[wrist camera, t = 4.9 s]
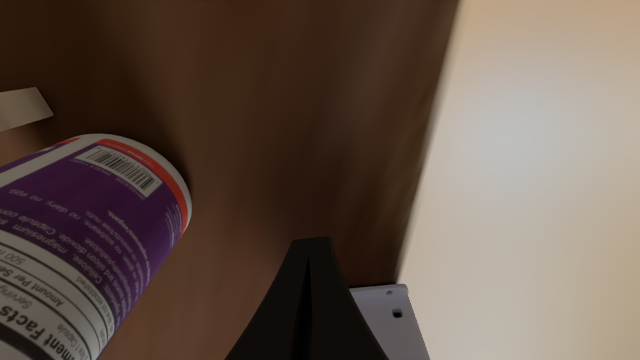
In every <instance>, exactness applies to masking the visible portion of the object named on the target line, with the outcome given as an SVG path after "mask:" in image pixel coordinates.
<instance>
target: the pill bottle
mask: <svg viewBox="0 0 640 360" xmlns="http://www.w3.org/2000/svg"><path fill="white" fill-rule="evenodd" d="M191 212H192V204H191V197H190V194H189V191H188V188H187V186H186V184H185V182H184V180H183V178H182V177H181V175H180V174H179V172H178V171H177V170H176V169H175V168H174V166H173V165H172V164H171V163H170V162H169V161H168V160H166V159H165V158H164V157H163V156H161V155H160V154H159V153H157V152H156V151H154V150H153V149H151V148H150V147H148V146H146V145H144V144H142V143H139V142H137V141H134V140H132V139H128V138H125V137H121V136H116V135H111V134H86V135H80V136H76V137H73V138H70V139H67V140H64V141H62V142H59V143H56V144H54V145H52V146H49V147H47V148H45V149H42V150H40V151H37V152H35V153H33V154H30V155H28V156H26V157H23V158H21V159H18V160H16V161H13V162H11V163H9V164H6V165H4V166H2V167H0V360H98V359H99V357H100V356H101V354H102V353H103V351H104V350H105V348H106V347H107V345H108V344H109V342H110V341H111V339H112V338H113V336H114V335H115V333H116V332H117V330H118V329H119V327H120V326H121V325H122V323H123V322H124V320H125V319H126V317H127V316H128V314H129V313H130V311H131V310H132V308H133V307H134V305H135V304H136V302H137V301H138V299H139V298H140V296H141V295H142V293H143V292H144V290H145V289H146V288H147V286H148V285H149V283H150V282H151V280H152V279H153V277H154V276H155V274H156V273H157V271H158V270H159V268H160V267H161V265H162V264H163V262H164V261H165V259H166V258H167V256H168V255H169V253H170V252H171V251H172V249H173V248H174V246H175V245H176V243H177V242H178V240H179V239H180V237H181V236H182V234H183V233H184V231H185V229H186V228H187V226H188V223H189V221H190V217H191Z"/></svg>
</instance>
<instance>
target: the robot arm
mask: <svg viewBox="0 0 640 360" xmlns="http://www.w3.org/2000/svg"><path fill="white" fill-rule="evenodd" d="M224 360H430V358H429V355H428V352H427V349H426V346H425V343H424V340H423V337H422V335H421V332H420V329H419V326H418V323H417V320H416V317H415V314H414V312H413V309H412V306H411V303H410V300H409V297H408V288H407V286H406V285H405V284H394V285H383V286H372V287H362V288H351V289H349V288H348V286H347V283H346V281H345V279H344V277H343V275H342V272H341V270H340V267H339V264H338V262H337V259H336V256H335V253H334V249H333V243H332V238H330V237H329V236H327V237H317V238H308V239H298V240H293V241H292V242H291V245H290V247H289V250H288V252H287V254H286V256H285V259H284V261H283V263H282V265H281V267H280V269H279V271H278V273H277V275H276V277H275V279H274V281H273V283H272V284H271V286H270V288H269V290H268V292H267V294H266V296H265V297H264V299H263V301H262V302H261V304H260V306H259V307H258V309H257V311H256V312H255V314H254V316H253V317H252V319H251V321H250V322H249V324H248V326H247V327H246V329H245V330H244V332H243V333H242V335H241V336H240V338H239V339H238V341H237V342H236V344H235V345H234V347H233V348H232V349H231V351H230V352H229V354H228V355H227V357H226V358H225V359H224Z"/></svg>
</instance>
